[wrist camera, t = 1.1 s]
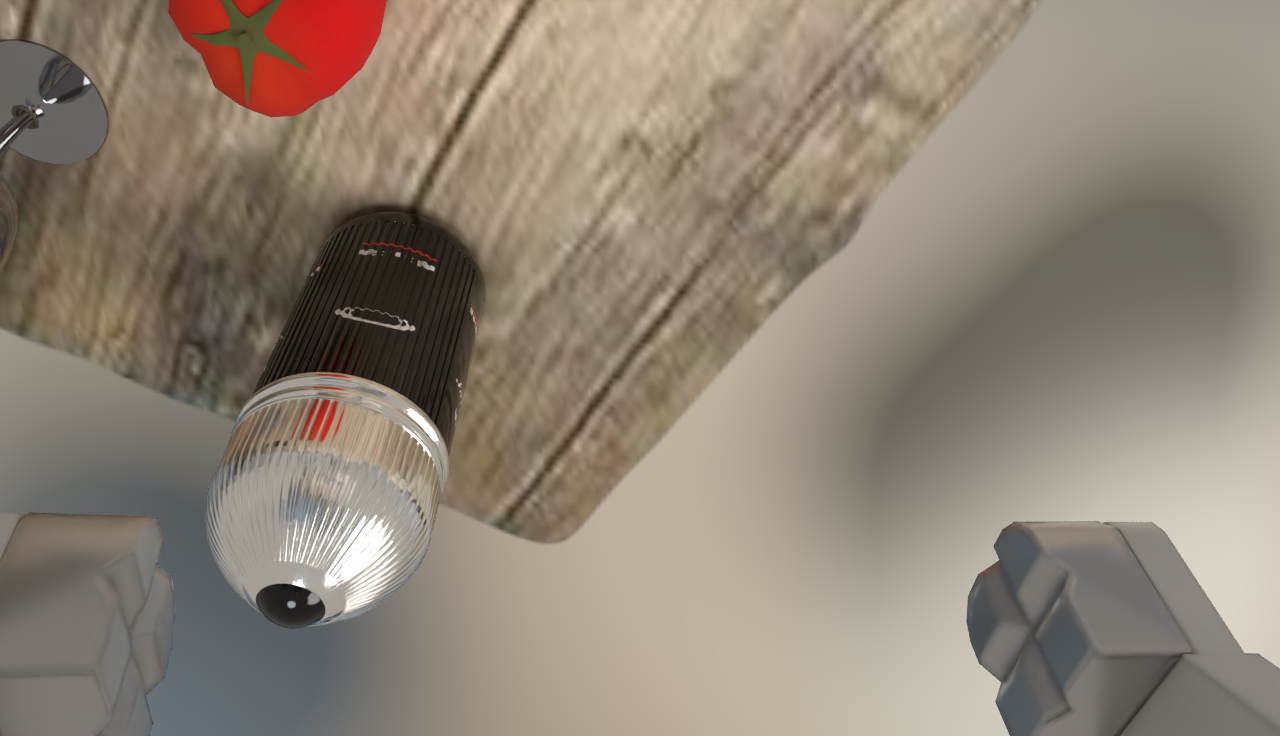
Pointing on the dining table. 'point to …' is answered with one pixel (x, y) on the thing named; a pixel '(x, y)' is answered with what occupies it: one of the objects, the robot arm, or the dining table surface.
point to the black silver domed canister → (350, 425)
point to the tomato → (280, 47)
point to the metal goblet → (43, 117)
